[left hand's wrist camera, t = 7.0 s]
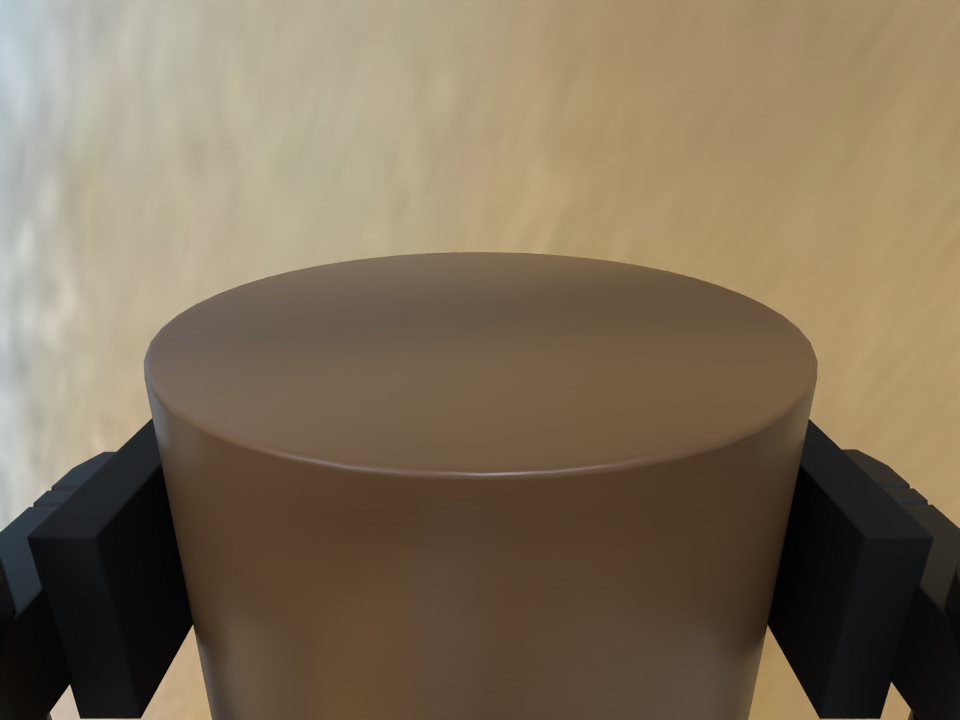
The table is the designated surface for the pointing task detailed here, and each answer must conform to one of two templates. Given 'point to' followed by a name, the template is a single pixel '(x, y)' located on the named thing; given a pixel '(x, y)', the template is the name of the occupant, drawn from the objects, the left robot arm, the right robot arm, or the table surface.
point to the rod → (480, 488)
